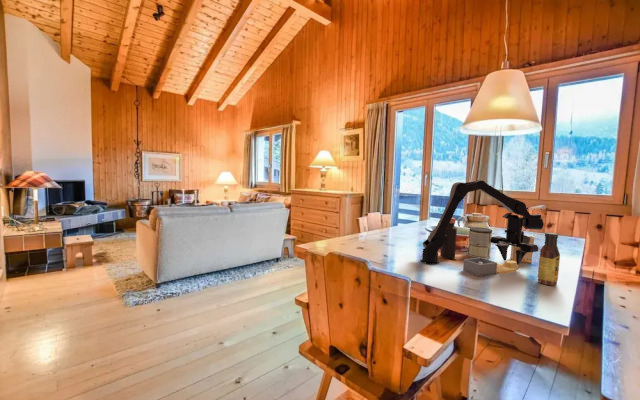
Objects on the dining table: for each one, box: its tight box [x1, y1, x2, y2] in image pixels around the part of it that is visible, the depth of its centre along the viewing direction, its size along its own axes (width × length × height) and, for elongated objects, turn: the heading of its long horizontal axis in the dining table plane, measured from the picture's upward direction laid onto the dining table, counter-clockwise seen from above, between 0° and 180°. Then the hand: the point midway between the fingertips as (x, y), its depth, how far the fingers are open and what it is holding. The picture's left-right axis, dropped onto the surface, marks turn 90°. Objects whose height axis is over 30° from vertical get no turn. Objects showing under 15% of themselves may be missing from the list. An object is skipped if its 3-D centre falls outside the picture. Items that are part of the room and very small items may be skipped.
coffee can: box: [467, 226, 493, 260], centre depth 153 cm, size 10×10×14 cm
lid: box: [496, 259, 520, 275], centre depth 133 cm, size 16×8×3 cm, turn 112°
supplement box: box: [509, 234, 535, 264], centre depth 145 cm, size 8×5×13 cm, turn 68°
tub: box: [462, 257, 498, 278], centre depth 127 cm, size 10×8×5 cm
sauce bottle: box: [537, 232, 561, 287], centre depth 116 cm, size 7×6×20 cm
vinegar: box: [440, 217, 458, 260], centre depth 148 cm, size 7×7×20 cm
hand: (511, 262), depth 135 cm, fingers open, 6 cm apart
